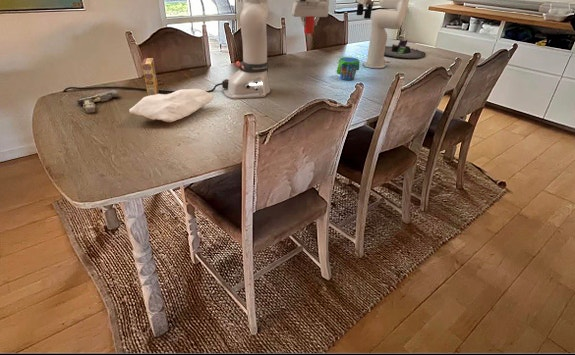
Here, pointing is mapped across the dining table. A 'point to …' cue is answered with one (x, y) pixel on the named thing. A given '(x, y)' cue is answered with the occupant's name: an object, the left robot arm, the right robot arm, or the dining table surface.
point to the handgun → (95, 100)
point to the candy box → (150, 76)
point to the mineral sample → (403, 51)
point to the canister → (309, 25)
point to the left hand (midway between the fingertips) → (309, 25)
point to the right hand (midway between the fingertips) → (363, 16)
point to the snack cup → (348, 67)
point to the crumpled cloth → (171, 104)
